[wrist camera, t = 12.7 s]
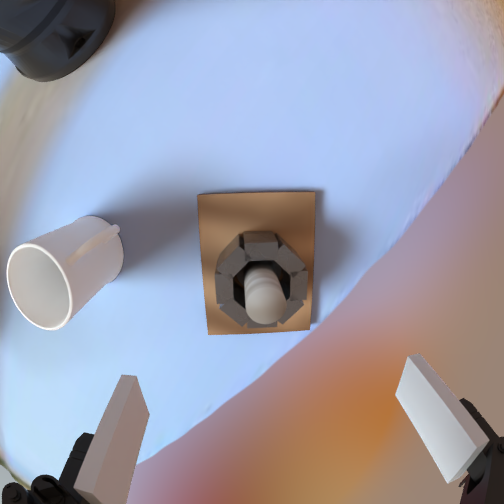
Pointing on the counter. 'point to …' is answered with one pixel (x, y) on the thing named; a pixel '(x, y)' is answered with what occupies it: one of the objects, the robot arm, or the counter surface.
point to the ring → (259, 249)
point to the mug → (63, 270)
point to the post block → (256, 272)
